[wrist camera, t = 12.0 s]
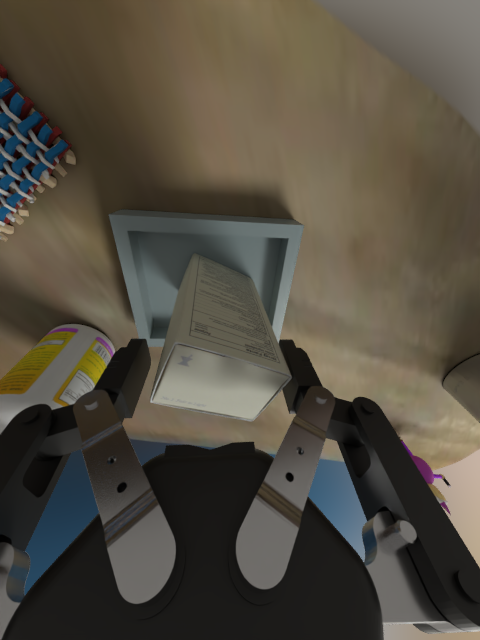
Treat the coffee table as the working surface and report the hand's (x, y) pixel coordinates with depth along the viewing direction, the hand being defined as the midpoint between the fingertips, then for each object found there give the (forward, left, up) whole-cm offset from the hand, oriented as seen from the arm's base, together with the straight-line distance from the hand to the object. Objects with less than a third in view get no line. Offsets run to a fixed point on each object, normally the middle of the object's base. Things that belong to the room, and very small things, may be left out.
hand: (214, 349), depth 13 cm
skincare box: (0, 0, -9) cm, 9 cm away
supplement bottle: (+14, +8, -10) cm, 19 cm away
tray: (0, 0, -10) cm, 10 cm away
